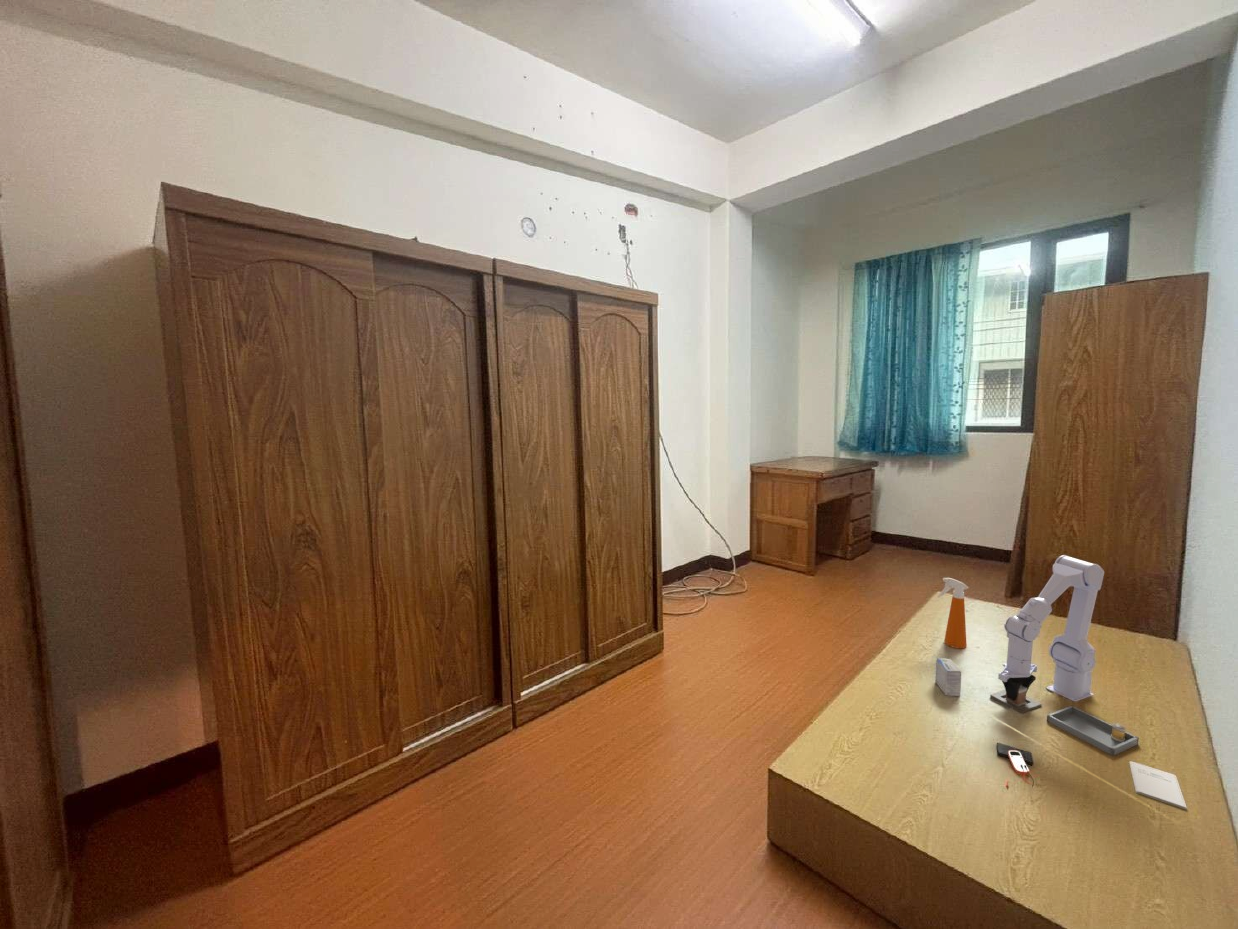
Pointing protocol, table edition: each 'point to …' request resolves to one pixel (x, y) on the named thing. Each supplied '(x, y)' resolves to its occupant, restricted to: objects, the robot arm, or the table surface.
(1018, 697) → the block
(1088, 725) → the parts tray
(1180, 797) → the external hard drive
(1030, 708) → the grey square frame
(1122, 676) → the table surface
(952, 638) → the spray bottle
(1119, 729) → the cylinder
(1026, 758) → the multimeter
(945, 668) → the medicine box
